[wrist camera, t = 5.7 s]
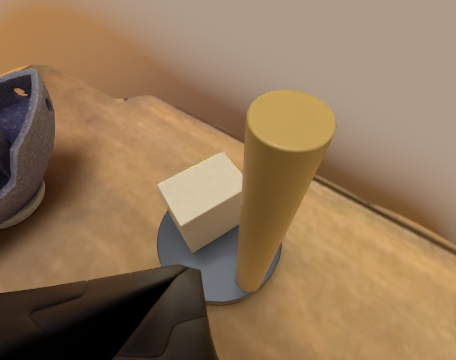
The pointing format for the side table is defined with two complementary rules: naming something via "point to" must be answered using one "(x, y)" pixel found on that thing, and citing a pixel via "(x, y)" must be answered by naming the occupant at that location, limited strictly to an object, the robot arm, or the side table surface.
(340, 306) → the side table surface
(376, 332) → the side table surface
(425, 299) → the side table surface
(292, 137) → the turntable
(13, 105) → the toy boat
